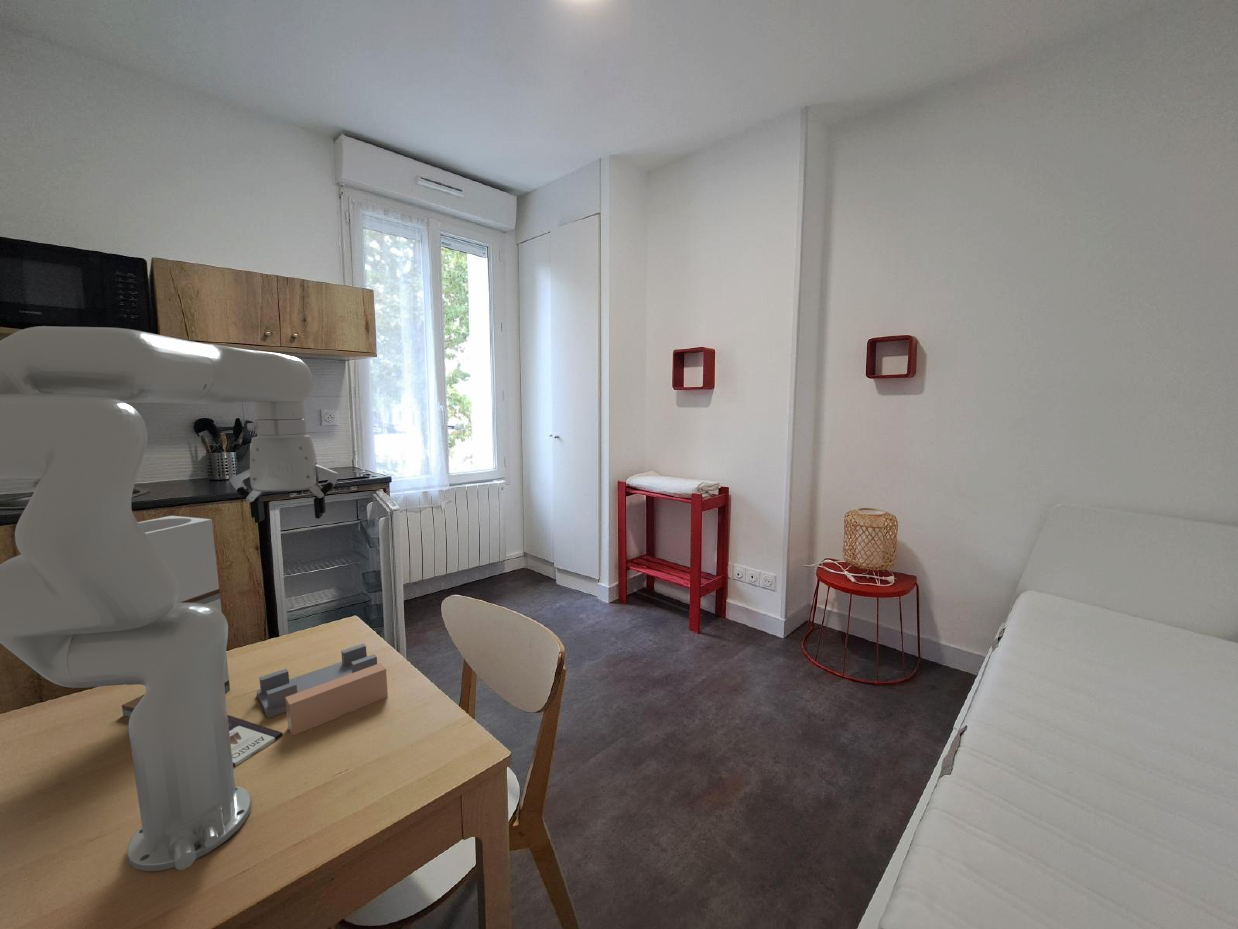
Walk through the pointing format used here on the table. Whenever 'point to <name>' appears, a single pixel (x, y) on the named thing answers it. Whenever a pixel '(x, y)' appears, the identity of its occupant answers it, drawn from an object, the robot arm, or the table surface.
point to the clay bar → (335, 698)
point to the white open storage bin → (187, 565)
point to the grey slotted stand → (309, 679)
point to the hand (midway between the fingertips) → (290, 519)
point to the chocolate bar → (248, 738)
